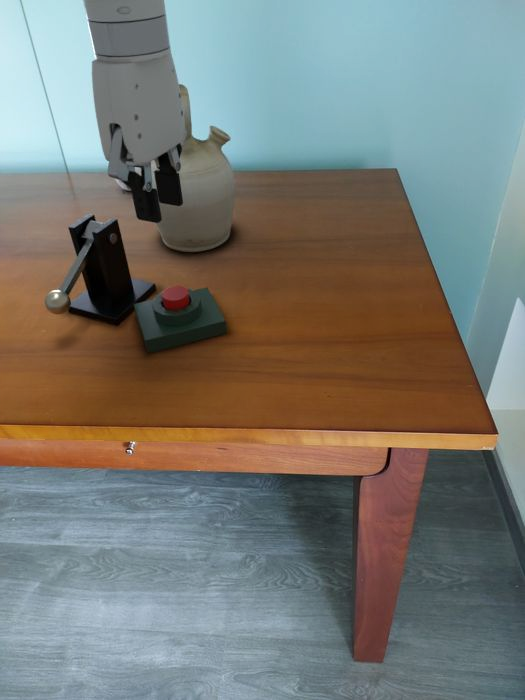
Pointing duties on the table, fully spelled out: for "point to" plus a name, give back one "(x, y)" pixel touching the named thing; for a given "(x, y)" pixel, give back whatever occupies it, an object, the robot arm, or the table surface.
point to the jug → (199, 192)
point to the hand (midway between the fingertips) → (160, 210)
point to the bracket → (107, 275)
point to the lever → (72, 274)
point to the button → (175, 298)
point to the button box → (179, 321)
